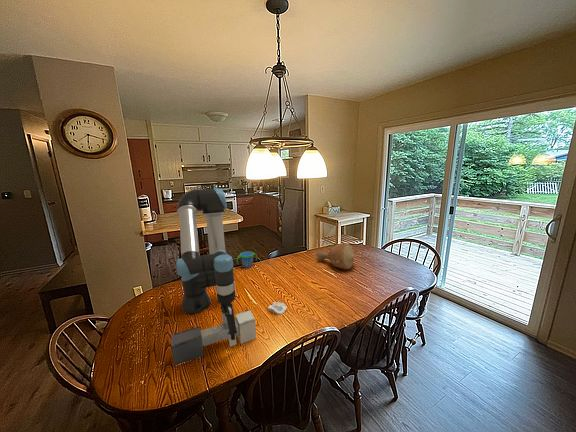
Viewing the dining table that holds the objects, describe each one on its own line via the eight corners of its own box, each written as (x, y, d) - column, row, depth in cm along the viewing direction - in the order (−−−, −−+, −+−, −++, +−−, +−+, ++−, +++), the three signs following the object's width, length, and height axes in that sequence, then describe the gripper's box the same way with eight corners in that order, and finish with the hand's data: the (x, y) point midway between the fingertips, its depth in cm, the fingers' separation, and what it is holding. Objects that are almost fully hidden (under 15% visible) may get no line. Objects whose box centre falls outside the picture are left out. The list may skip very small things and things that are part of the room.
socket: (241, 343, 103) (239, 324, 101) (236, 333, 109) (235, 314, 107) (256, 338, 106) (255, 319, 104) (250, 328, 113) (249, 310, 110)
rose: (267, 308, 121) (268, 297, 130) (267, 315, 122) (268, 304, 131) (286, 307, 121) (286, 297, 131) (287, 315, 122) (286, 304, 132)
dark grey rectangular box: (174, 367, 92) (171, 346, 89) (174, 354, 98) (171, 334, 96) (203, 356, 96) (201, 336, 94) (201, 345, 102) (199, 326, 100)
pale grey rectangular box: (196, 349, 95) (195, 339, 94) (195, 341, 100) (193, 331, 99) (250, 331, 105) (250, 321, 104) (247, 324, 110) (246, 315, 109)
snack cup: (238, 270, 174) (237, 257, 171) (236, 264, 183) (235, 252, 181) (258, 267, 178) (258, 254, 176) (256, 261, 188) (255, 250, 186)
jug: (346, 261, 158) (309, 256, 176) (354, 276, 169) (318, 270, 187) (354, 238, 168) (318, 236, 187) (361, 253, 179) (326, 250, 198)
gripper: (242, 304, 90) (245, 351, 94) (228, 276, 111) (231, 316, 116) (222, 309, 86) (227, 358, 91) (211, 280, 108) (215, 320, 113)
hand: (229, 334), depth 104 cm, fingers open, 13 cm apart
